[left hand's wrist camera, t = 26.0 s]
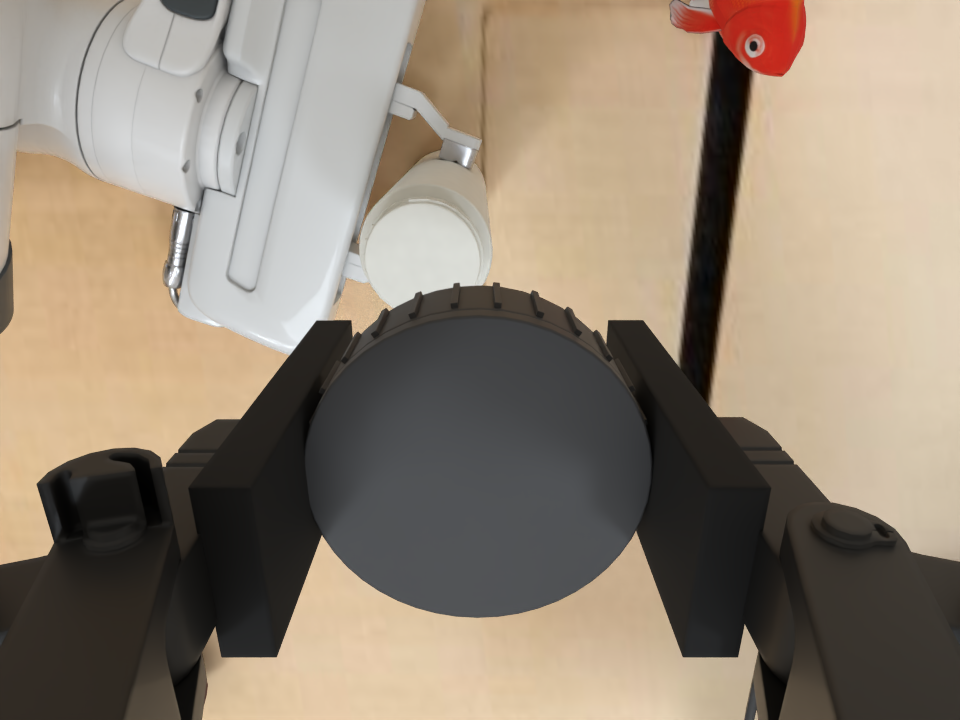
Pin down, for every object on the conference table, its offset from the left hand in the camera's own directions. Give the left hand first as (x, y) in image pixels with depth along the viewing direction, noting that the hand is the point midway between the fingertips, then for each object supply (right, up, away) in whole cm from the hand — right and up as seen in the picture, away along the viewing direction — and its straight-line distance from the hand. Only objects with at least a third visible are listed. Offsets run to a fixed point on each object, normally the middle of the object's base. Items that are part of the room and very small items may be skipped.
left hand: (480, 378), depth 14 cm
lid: (0, -1, -4) cm, 4 cm away
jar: (-2, +11, +25) cm, 27 cm away
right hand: (-1, +8, +19) cm, 20 cm away
